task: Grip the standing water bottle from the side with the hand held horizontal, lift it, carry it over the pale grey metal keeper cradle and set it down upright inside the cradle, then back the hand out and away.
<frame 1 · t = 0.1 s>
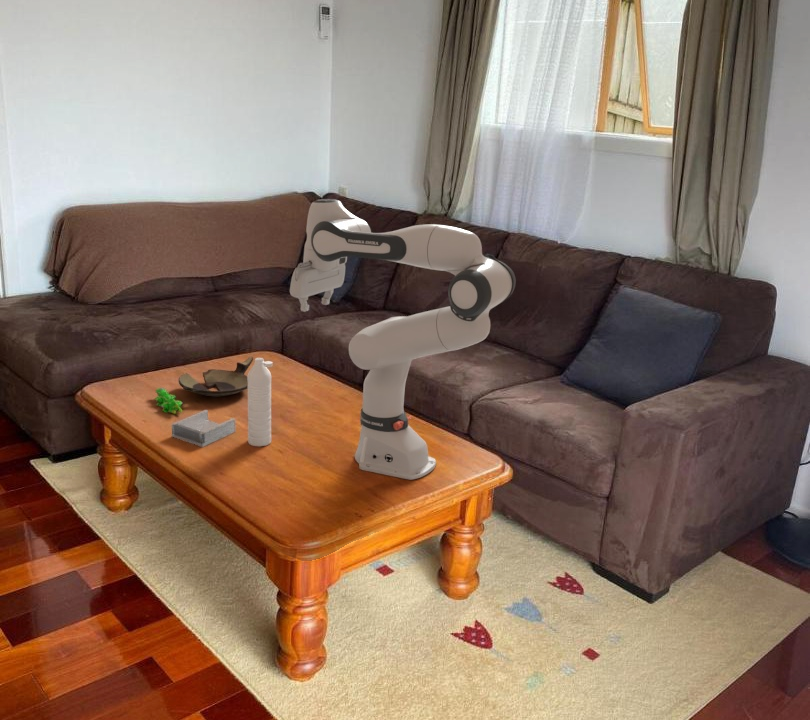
hand: (315, 307, 232), 39 cm above the table, tool pointing down, fingers open, 8 cm apart
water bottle: (261, 444, 239), on the table
crocodile figurine: (168, 408, 261), on the table
keeper cradle: (204, 434, 243), on the table
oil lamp: (223, 392, 276), on the table
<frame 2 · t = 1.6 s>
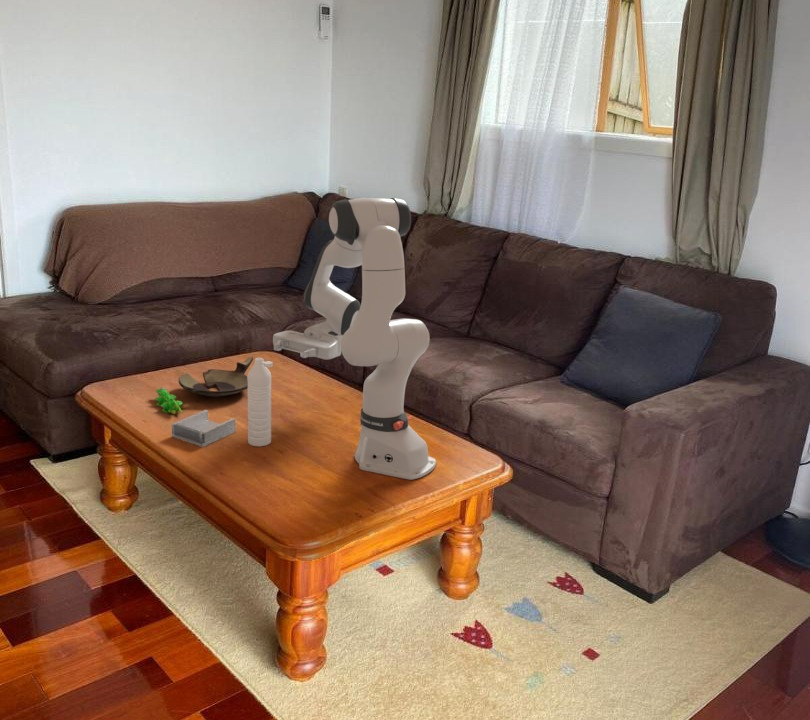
hand: (288, 351, 241), 24 cm above the table, tool horizontal, fingers open, 8 cm apart
nothing on the table moved.
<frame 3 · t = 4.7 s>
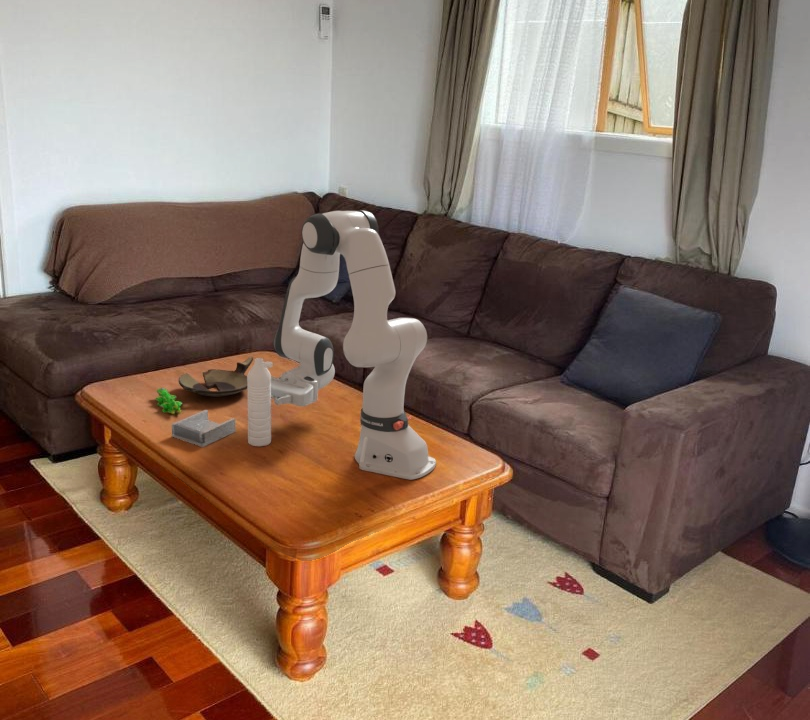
hand: (262, 398, 235), 13 cm above the table, tool horizontal, fingers open, 8 cm apart
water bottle: (261, 444, 239), on the table, touching gripper
everything else where it was.
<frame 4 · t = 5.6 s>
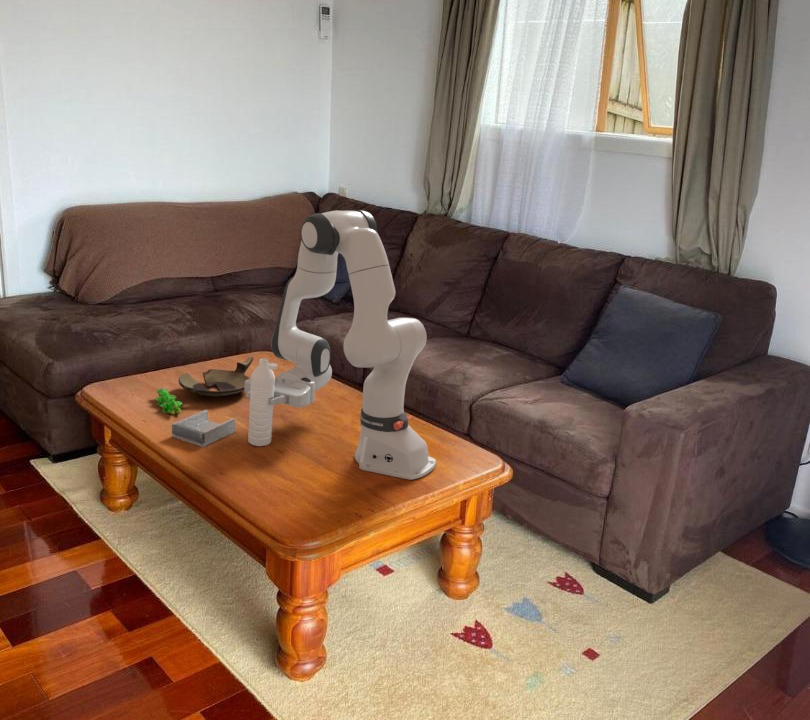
hand: (259, 399, 234), 14 cm above the table, tool horizontal, fingers closed on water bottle, 6 cm apart
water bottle: (261, 443, 239), on the table, touching gripper
everything else where it was.
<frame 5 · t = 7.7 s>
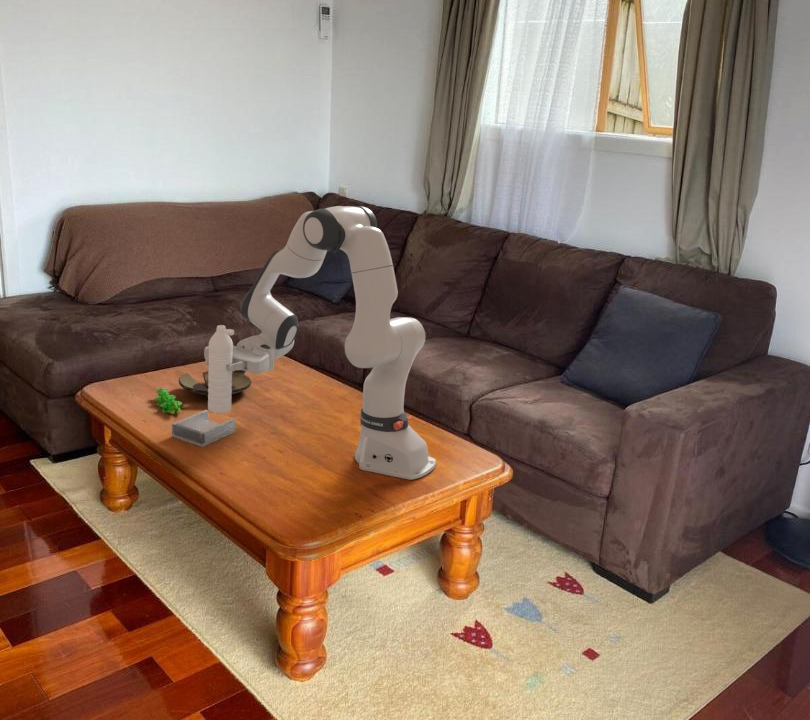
hand: (217, 365, 235), 22 cm above the table, tool horizontal, fingers closed on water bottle, 6 cm apart
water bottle: (221, 411, 240), point 8 cm above the table, touching gripper
everything else where it was.
when the fingers open (16 cm above the table, at t = 9.8 s): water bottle drops 1 cm, resting on keeper cradle.
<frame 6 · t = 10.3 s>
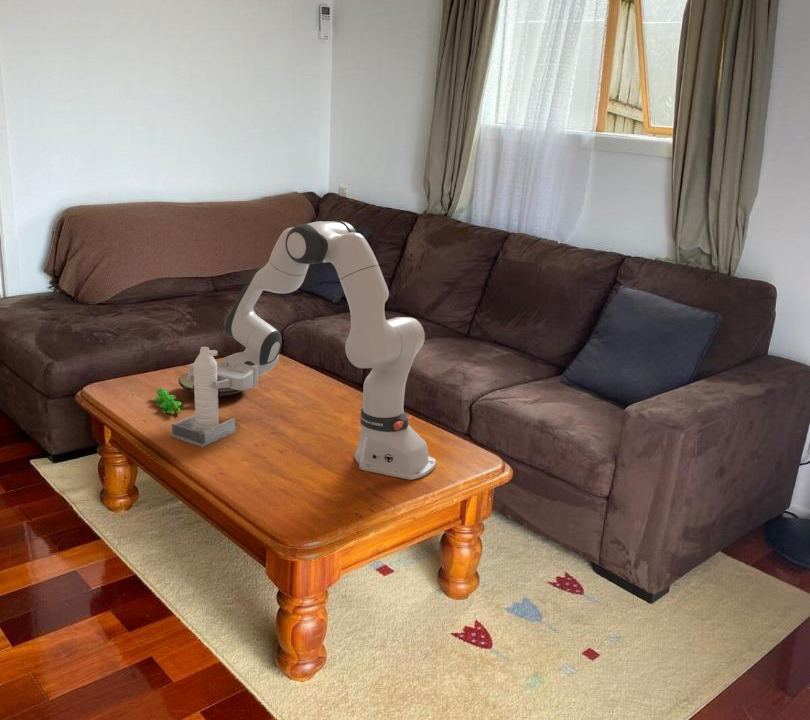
hand: (201, 382, 237), 16 cm above the table, tool horizontal, fingers open, 8 cm apart
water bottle: (209, 432, 242), point 1 cm above the table, touching keeper cradle
everything else where it was.
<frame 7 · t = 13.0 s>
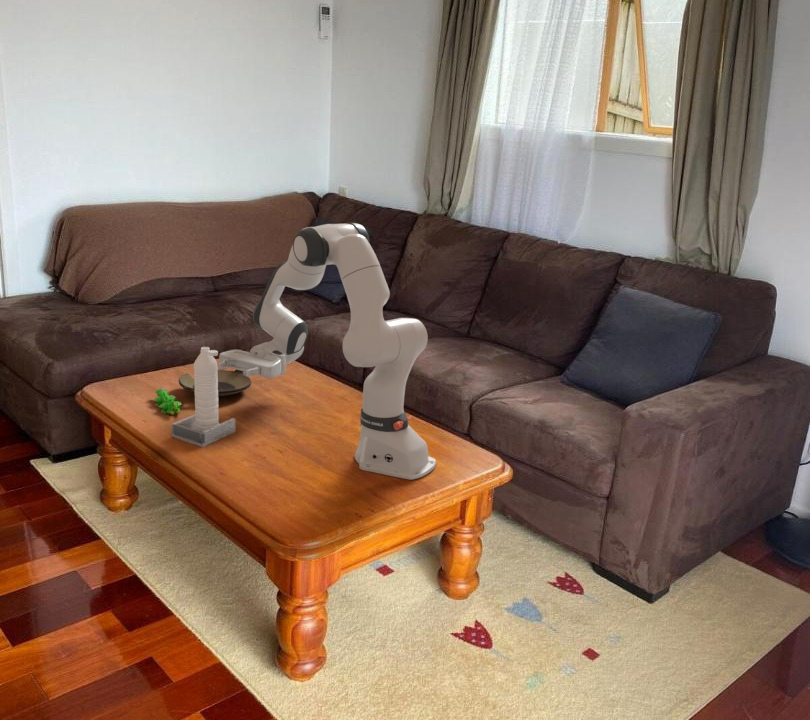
hand: (232, 370, 248), 16 cm above the table, tool horizontal, fingers open, 8 cm apart
nothing on the table moved.
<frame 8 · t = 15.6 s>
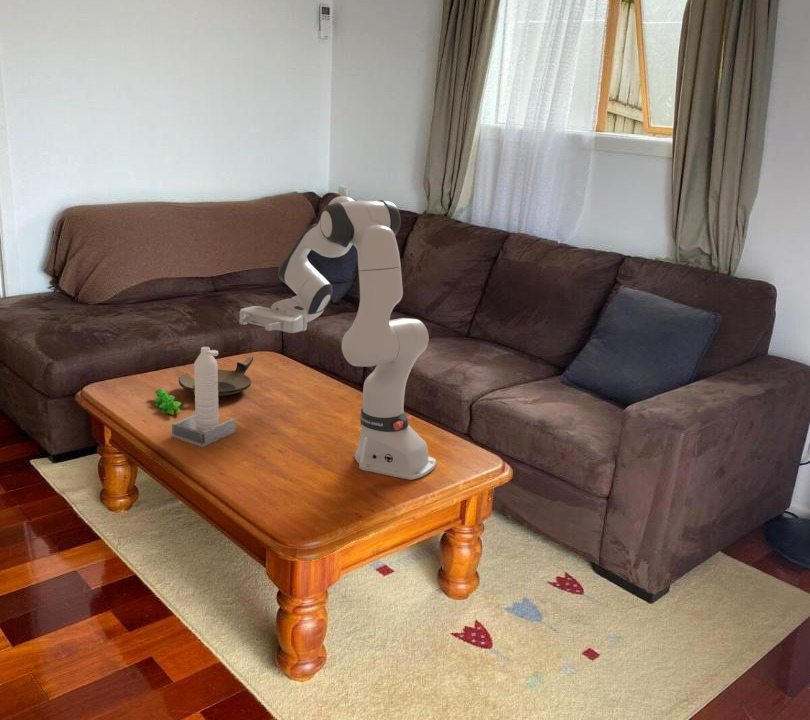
hand: (253, 324, 244), 30 cm above the table, tool horizontal, fingers open, 8 cm apart
nothing on the table moved.
at the end: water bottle 1.6 cm off-centre on the keeper cradle, point 0.8 cm above the keeper cradle's base; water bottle tilted 0°; the gripper is holding nothing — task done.
